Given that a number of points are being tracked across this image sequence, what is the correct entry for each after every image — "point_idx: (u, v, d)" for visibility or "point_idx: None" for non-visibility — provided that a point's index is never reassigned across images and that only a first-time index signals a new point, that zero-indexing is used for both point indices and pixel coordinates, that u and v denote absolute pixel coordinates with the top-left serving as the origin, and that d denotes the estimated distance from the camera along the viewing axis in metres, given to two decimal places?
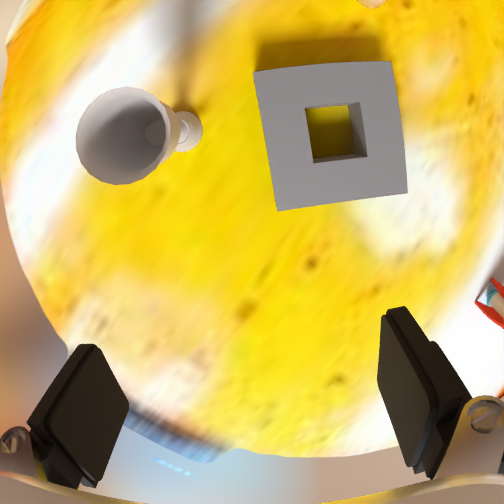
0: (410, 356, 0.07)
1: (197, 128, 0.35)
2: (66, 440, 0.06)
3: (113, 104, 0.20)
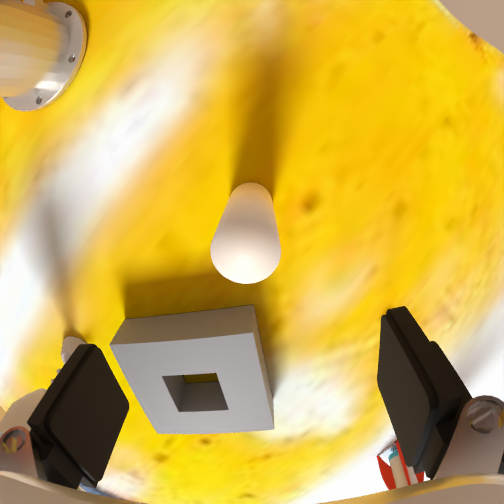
0: (410, 356, 0.07)
1: None
2: (66, 440, 0.06)
3: (4, 420, 0.21)
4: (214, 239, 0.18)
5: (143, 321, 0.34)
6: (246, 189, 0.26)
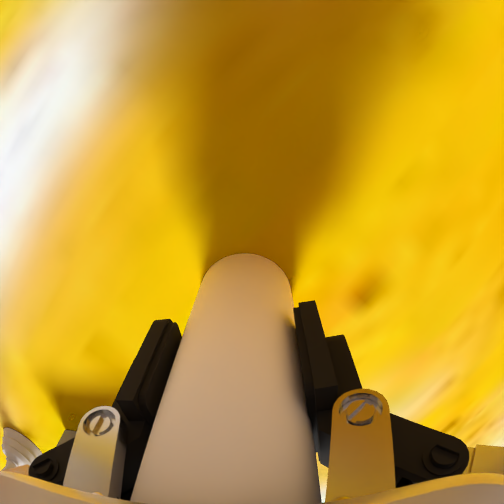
0: (302, 345, 0.08)
1: (32, 454, 0.21)
2: None
3: None
4: None
5: None
6: (232, 293, 0.10)
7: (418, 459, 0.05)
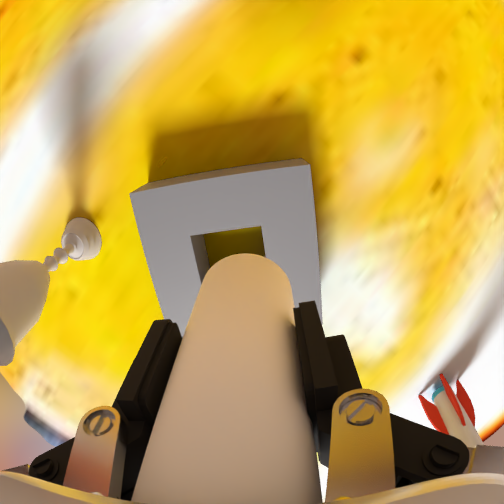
0: (302, 345, 0.08)
1: (94, 240, 0.32)
2: (156, 416, 0.07)
3: None
4: None
5: (171, 179, 0.29)
6: (233, 293, 0.10)
7: (418, 459, 0.05)
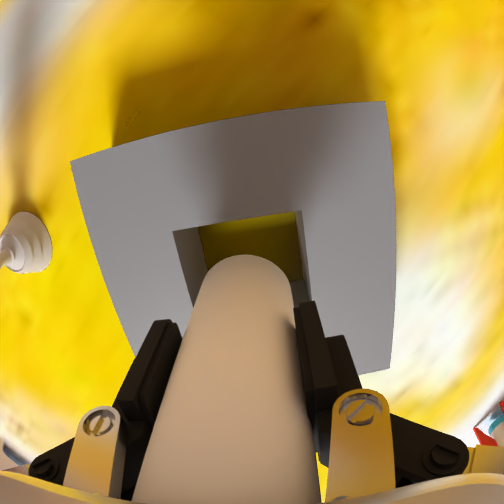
0: (302, 345, 0.08)
1: (40, 243, 0.20)
2: (156, 416, 0.07)
3: None
4: None
5: None
6: (233, 294, 0.10)
7: (418, 459, 0.05)
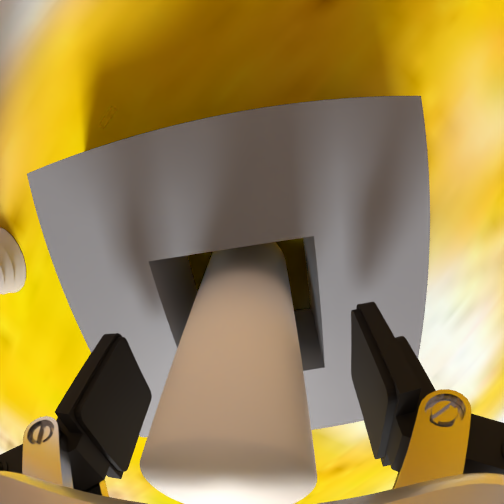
0: (373, 349, 0.07)
1: (11, 263, 0.16)
2: (95, 429, 0.07)
3: None
4: (145, 459, 0.06)
5: None
6: (238, 257, 0.13)
7: (498, 453, 0.04)
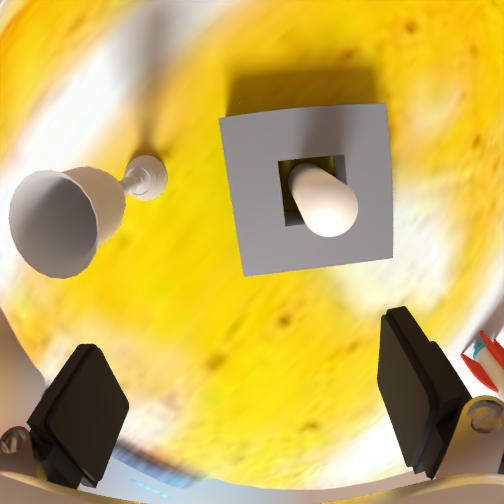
0: (410, 356, 0.07)
1: (161, 176, 0.32)
2: (66, 440, 0.06)
3: (45, 181, 0.17)
4: (306, 196, 0.22)
5: None
6: (310, 166, 0.29)
7: None
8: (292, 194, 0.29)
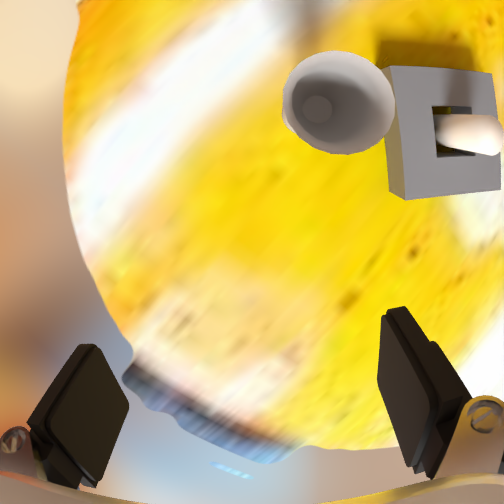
0: (410, 356, 0.07)
1: None
2: (66, 440, 0.06)
3: (315, 67, 0.19)
4: (478, 124, 0.23)
5: None
6: (446, 114, 0.30)
7: None
8: (439, 133, 0.30)
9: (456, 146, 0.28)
